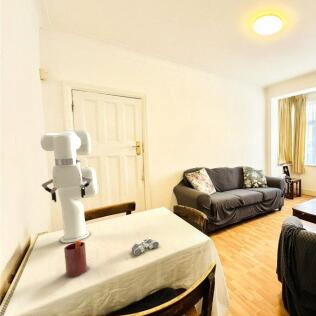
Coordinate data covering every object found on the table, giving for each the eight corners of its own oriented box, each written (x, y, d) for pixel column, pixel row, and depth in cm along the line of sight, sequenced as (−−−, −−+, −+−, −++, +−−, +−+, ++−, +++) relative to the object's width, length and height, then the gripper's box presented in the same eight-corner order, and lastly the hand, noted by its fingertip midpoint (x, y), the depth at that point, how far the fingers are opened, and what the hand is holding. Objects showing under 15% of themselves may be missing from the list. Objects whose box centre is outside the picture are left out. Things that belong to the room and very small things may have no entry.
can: (66, 271, 85) (63, 245, 84) (85, 264, 90) (83, 240, 89) (66, 279, 80) (64, 252, 79) (87, 272, 85) (85, 246, 84)
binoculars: (135, 256, 96) (134, 249, 96) (128, 250, 101) (128, 243, 101) (159, 246, 105) (158, 240, 105) (151, 241, 110) (151, 235, 110)
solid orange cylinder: (73, 270, 85) (75, 240, 86) (79, 268, 86) (80, 239, 87) (74, 271, 84) (75, 241, 85) (79, 270, 85) (81, 240, 86)
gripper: (88, 160, 100) (91, 194, 101) (40, 163, 88) (43, 201, 90) (90, 161, 94) (93, 197, 96) (39, 164, 82) (43, 205, 84)
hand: (69, 199), depth 93 cm, fingers open, 9 cm apart
